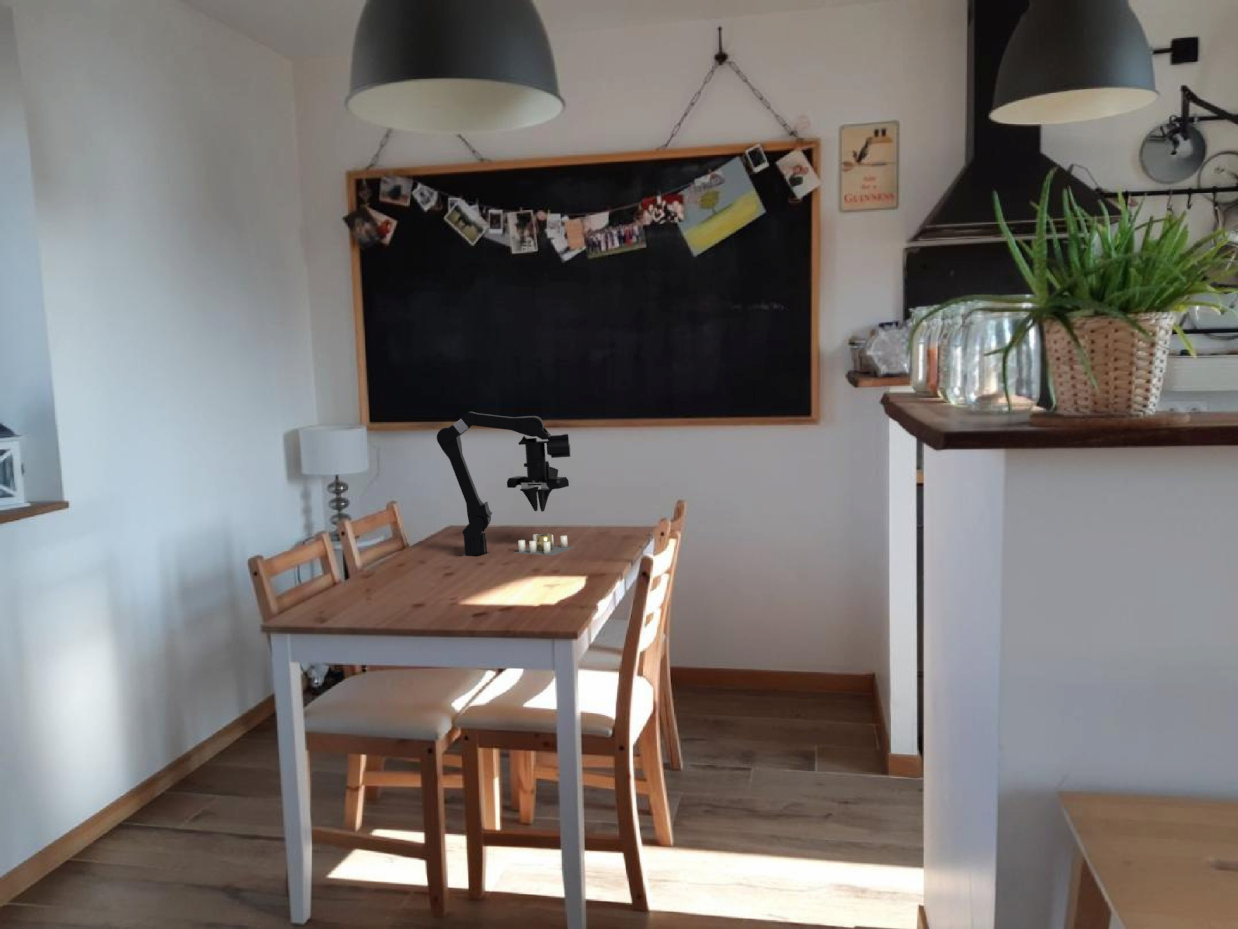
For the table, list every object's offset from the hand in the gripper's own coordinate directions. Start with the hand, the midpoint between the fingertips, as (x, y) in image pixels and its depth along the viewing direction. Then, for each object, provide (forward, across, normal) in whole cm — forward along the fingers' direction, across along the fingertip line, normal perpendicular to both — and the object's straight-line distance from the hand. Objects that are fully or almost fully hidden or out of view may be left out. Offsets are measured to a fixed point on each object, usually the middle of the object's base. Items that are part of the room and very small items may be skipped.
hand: (539, 511), depth 281 cm
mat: (+12, -1, 0) cm, 12 cm away
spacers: (+12, 0, 0) cm, 12 cm away
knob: (+12, -1, 0) cm, 12 cm away
